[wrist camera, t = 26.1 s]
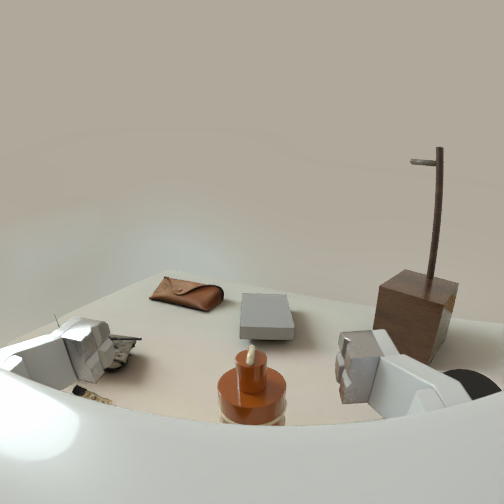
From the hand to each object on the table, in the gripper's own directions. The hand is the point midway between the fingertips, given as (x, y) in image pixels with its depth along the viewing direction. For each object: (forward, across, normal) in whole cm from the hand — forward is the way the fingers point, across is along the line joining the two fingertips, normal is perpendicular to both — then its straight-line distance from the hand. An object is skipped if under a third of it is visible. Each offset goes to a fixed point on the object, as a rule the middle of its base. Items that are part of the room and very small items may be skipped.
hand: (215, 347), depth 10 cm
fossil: (+16, +26, +25) cm, 40 cm away
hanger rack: (+37, -28, +25) cm, 52 cm away
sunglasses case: (+56, +20, +25) cm, 65 cm away
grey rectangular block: (+37, 0, +22) cm, 43 cm away
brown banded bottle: (+12, 0, +24) cm, 27 cm away
